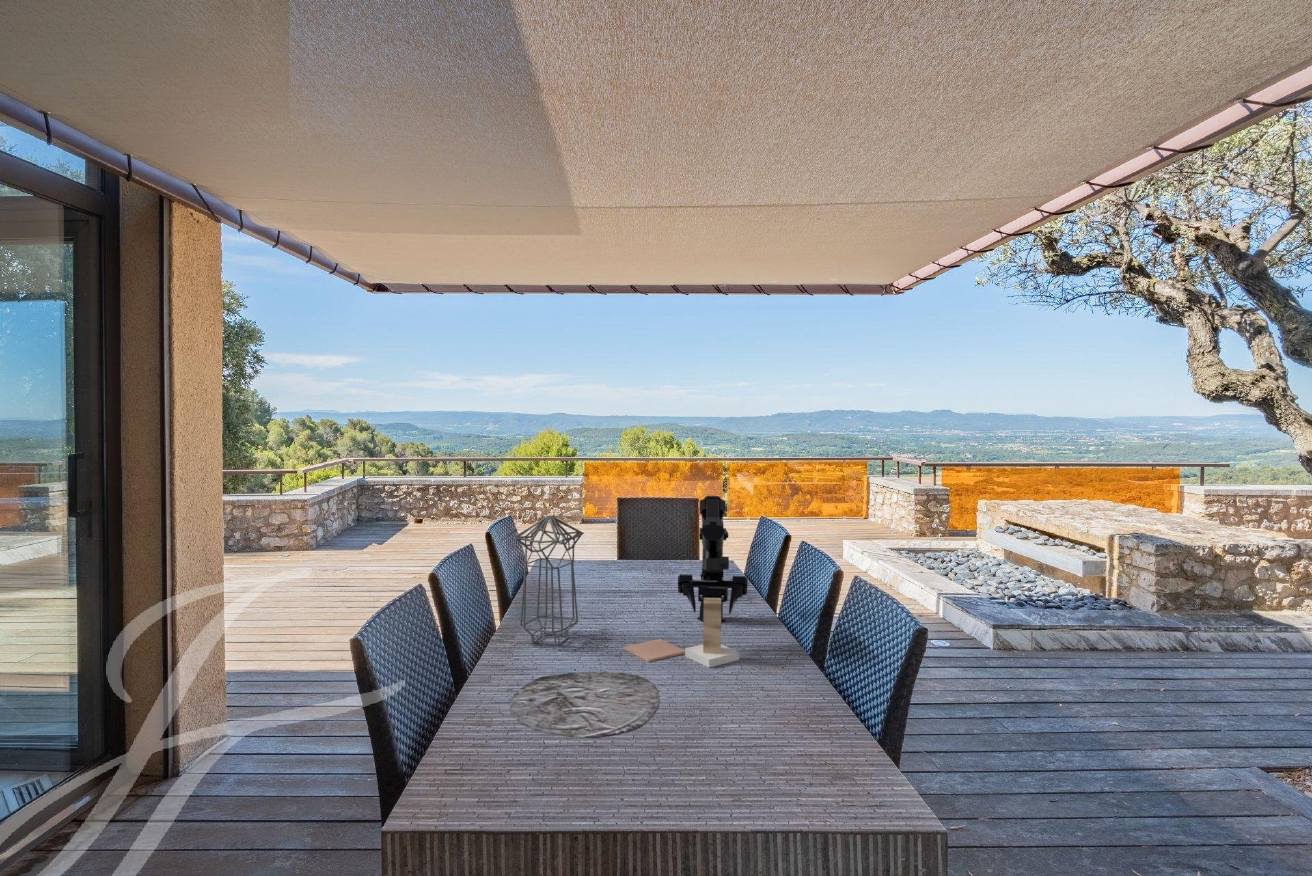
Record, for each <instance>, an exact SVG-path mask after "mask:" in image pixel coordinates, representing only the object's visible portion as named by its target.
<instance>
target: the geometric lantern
mask: <svg viewBox="0 0 1312 876" xmlns="http://www.w3.org/2000/svg"><path fill="white" fill-rule="evenodd" d="M548 522H549V523H550V526H551V527H550V528H551V530H547V529H546V528H547V526H548ZM562 525H563V526H565V527H568V528H569V529H571V530H573V531H568V530H566V529H565V528H564V527H563V526H562ZM527 532H528V533H527ZM540 532H541V536H540V538H539V540H535V538H536V537H537V535H538V534H539V533H540ZM526 533H527V534H526ZM524 534H525V535H524ZM550 534H553V536H554V537H552V536H551V535H550ZM572 534H573V535H572ZM584 534H585V533H584V532H583V531H581V530H579V529H578V528H575V527H573V526H572V525H570V524H568V523H566V522H565V521H562V520H561V519H559V518H557V517H555V516H553V515H546V516H545V517H544V518H542V519H540V520H538V521H537V522H535V523H534V524H533V525H531V526H529V527H528V528H526V529H525V530H523V531H521V532H520V533H518V534H516V535H514V537H513V539H514V540H515V541H516V542H518V543H519V544H521V546H523V547H524V552H525V553H524V570H523V582H522V584H523V585H522V594H521V608H520V620H519V621H520V623H519V627H520V629H522V630H524V631H525V632H526V633H527V634H529V635H530V637H531V638H530V642H531V643H532V644H541V645H550V646H559V645H561V644H562V643H564V642H565V641H566V640H568V639H569V638H570V637H569V631H570V630H571V629H572V628H573V627H575V625H577V624H578V623H579V614H578V604H577V603H578V602H577V592H576V591H577V590H576V581H575V579H576V578H575V569H574V566H575V565H574V564H575V547H576V546H575V545H576V544H577V542H579V540H580V538H581V537H582V536H583V535H584ZM544 535H546V536H547V537H548V538H549V539H551V540H543V537H544ZM560 536H561V540H560ZM570 541H572V545H571V544H570ZM527 542H529V544H527ZM534 543H535V544H536V543H537V544H538V548H539V549H536V547H535V546H534ZM546 543H548V544H547V545H546V546H544V547H543V548H542V547H541V544H546ZM549 543H550V544H549ZM557 544H560V545H563V548H564V549H565V551H564V552H563V555H562V556H561V558H554V557H553V558H552V557H550V556H551V554H552V552H553V551H554V549H555V547H556V546H557ZM570 545H571V546H570ZM551 546H552V548H551V550H550V551H549V553H548V554H546V553H545V550H546V549H549V547H551ZM567 546H568V547H567ZM570 550H572V555H571V554H570V552H569V551H570ZM528 551H529V552H530V554H529V556H528ZM533 553H536V554H537V556H538V557H539V558H537V559H534V560H531V561H530V559H531V557H532V554H533ZM540 553H542V555H543V557H542V556H541V554H540ZM566 553H567V554H568V556H569V557H568V558H569V559H566V558H565V556H566ZM550 560H554V561H559V563H558V564H557V566H553V565H552V562H550ZM537 561H539V565H529V564H532V563H535V562H537ZM542 561H545V566H542ZM562 561H568V562H569V563H566V564H563V565H561V562H562ZM548 564H549V566H548ZM560 565H561V566H560ZM569 565H570V571H571V572H570V573H571V577H570V579H571V580H570V581H571V602H572V603H571V607H572V617H568V616H567V617H566V616H563V609H562V608H563V607H562V591H561V590H562V589H561V576H560V574H561V573H560V571H561V570H560V569H562V568H564V567H566V566H569ZM529 567H530V568H538V585H537V587H538V588H537V602H536V603H537V604H536V616H535V617H534V618H532V619H530V620H528V621H526V611H527V610H526V609H527V606H526V603H527V600H526V599H527V569H528V568H529ZM542 569H545V609H544V610H545V615H539V613H540V593H541V578H542V577H541V576H542V573H541V572H542ZM548 569H550V593H551V595H550V596H551V597H550V598H551V599H550V601H551V607H550V608H551V615H548V573H549V572H548ZM553 570H557V584H558V585H557V586H558V599H559V601H558V602H559V616H557V615H555V616H554V575H553V573H554V571H553ZM542 618H545V620H544V626H543V625H542V623H541V620H540V619H542ZM547 618H549V619H550V618H551V626H546V625H547ZM554 619H558V620H559V619H560V627H554V625H555V623H554V622H555V621H554ZM535 620H537V621H538V624H539V625H540V628H531V627H526V625H528V624H529V623H531V622H533V621H535ZM563 620H571V621H570V623H569V624H568V625H567V626H565V627H564V622H563ZM546 629H547V630H546ZM548 629H549V630H548ZM531 631H533V633H532V632H531ZM538 632H540V634H536V633H538ZM557 633H559V634H557ZM547 635H548V636H547ZM561 637H565V638H564V639H563V640H562V641H561V640H560V638H561ZM539 638H547V639H553V640H554V643H549V642H541V641H535V640H536V639H539Z"/></svg>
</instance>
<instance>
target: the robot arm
mask: <svg viewBox="0 0 1312 876" xmlns="http://www.w3.org/2000/svg"><path fill="white" fill-rule="evenodd" d="M698 512H699V515H701V527H699V536H698V537H699V541H701V544H702V557H701V559H702V562H701V574H700V579H694V578H693V574H690V573H689V574H686V573H683V574H681V573H680V574H679V575H678V576H677V592H678V594H682V596H684V597H686V598H687V599H688V601H689V603H690V605H691V609H692V611H693V613H697V611H696V609H697V608H696V607H697V605H696V598H695V597H696V596H695V589H694V588H698V589H697V590H698V591H697V597H698V602H700V605H699V616H697V618H696V619H697V620H699V621H702V622H704V598H721V623H722V622H726V621H727V619H726V618H725V617H724V615H723V613H724V612H723V611H724V609H723V608H724V607H723V606H724V603H726V602H728V601H729V605H728V614H729V615H730V614H731V613H732V611H733V608H734V606H735V604H736V602H737V601H738V599H739V598H742V597H743V596H746V595H748V585H749V583H748V577H747V576H746V575H732V580H724V570H727V571H728V570H729V569H730V562H729V561H730V559H729V558H730V557H729V556H724V541H727V539H729V532H728V530H727V529H726V527H724V526H725V525H724V515H726V500H724V499H722V498H721V496H719V495H706V496H704V498H702V499H700V500H699V511H698ZM729 589H731V590H730V597H728V595H729V593H728V592H729ZM729 598H730V599H729ZM728 599H729V600H728Z"/></svg>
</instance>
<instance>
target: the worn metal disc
mask: <svg viewBox="0 0 1312 876" xmlns="http://www.w3.org/2000/svg"><path fill="white" fill-rule="evenodd" d="M659 704H660V696H659V690H658V688H657V686H656V685H655V684H654V683H653V682H652V681H650V680H649V679H647V678H645V677H643V676H640V675H636V674H632V673H628V672H627V673H626V672H620V671H611V670H610V671H609V670H608V671H607V670H605V671H604V670H603V671H602V670H601V671H600V670H598V671H597V670H596V671H595V670H593V671H574V672H573V671H572V672H567V673H560V674H550V675H545V676H544V675H543V676H540V677H538V678H535V679H534V680H532V681H530V682H528V683H527V684H525V685H523V686H522V687H521V688H520V689H518V690H516V692H515V693H514V694H513V696H512V698H511V699H510V700H509V713H510V715H511V717H512V718H514V720H516V721H517V722H519V724H521V726H524V727H526V728H529V729H531V730H534V731H537V732H541V733H544V734H545V735H546V734H547V735H556V736H557V735H558V736H562V737H566V738H575V739H576V738H578V739H579V738H580V739H581V738H582V739H596V738H598V739H600V738H603V737H604V738H605V737H606V738H607V737H613V736H617V735H621V734H627V733H630V732H632V731H635V730H637V729H641V728H642V727H643V726H645V724H646V723H648V722H649V721H650V719H652V717H653V716H654V715H655V713H656V712H657V710H658V709H659V706H660V705H659Z"/></svg>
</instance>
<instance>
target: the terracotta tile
mask: <svg viewBox="0 0 1312 876" xmlns="http://www.w3.org/2000/svg"><path fill="white" fill-rule="evenodd" d="M623 650H625V651H627V653H628V652H629V653H631V654H632V655H634V656H636V657H638V658H640V659H641V660H643V661H645V662H648V663H650V662H655V661H660V660H662V659H668V658H671V657H676V656H680V655H685V649H683V648H681V647H678V646H677V645H674V644H673V643H670V642H668V641H666V640H663V639H661V638H658V639H652V640H648V641H644V642H639V643H635V644H634V643H633V644H631V645H630V644H629V645H625V646H624V645H623Z"/></svg>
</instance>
